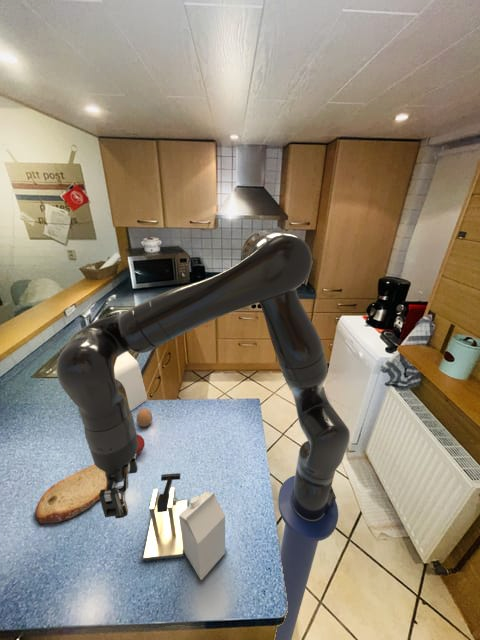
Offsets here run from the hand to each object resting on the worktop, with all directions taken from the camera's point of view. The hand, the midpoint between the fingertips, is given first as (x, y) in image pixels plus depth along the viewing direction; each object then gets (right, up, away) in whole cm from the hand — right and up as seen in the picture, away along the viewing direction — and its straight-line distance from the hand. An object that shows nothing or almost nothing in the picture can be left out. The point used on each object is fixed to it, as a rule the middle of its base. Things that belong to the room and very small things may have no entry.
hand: (127, 491), depth 51 cm
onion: (-12, -9, +33) cm, 36 cm away
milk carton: (+14, -21, +9) cm, 27 cm away
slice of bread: (-23, -14, +21) cm, 34 cm away
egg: (-13, -5, +43) cm, 45 cm away
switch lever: (+4, -10, +13) cm, 17 cm away
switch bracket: (+4, -18, +13) cm, 23 cm away
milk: (-25, 0, +54) cm, 59 cm away
